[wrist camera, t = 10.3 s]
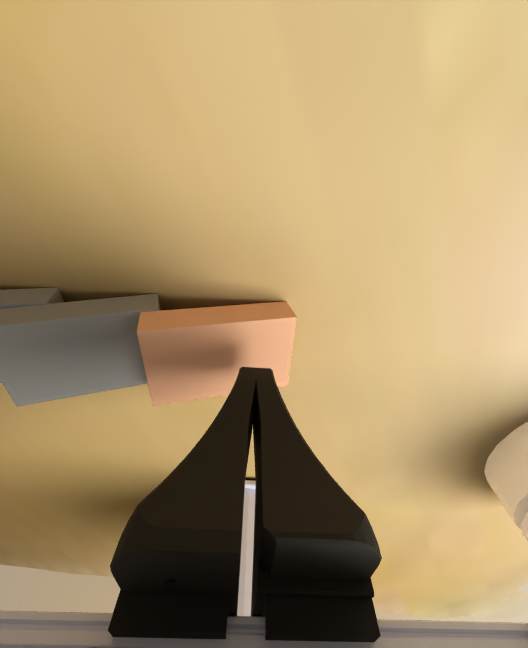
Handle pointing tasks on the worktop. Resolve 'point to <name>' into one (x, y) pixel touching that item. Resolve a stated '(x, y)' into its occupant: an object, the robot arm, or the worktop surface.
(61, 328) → the domino
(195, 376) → the tile
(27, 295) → the domino
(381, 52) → the worktop surface
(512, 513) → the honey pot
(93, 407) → the worktop surface
